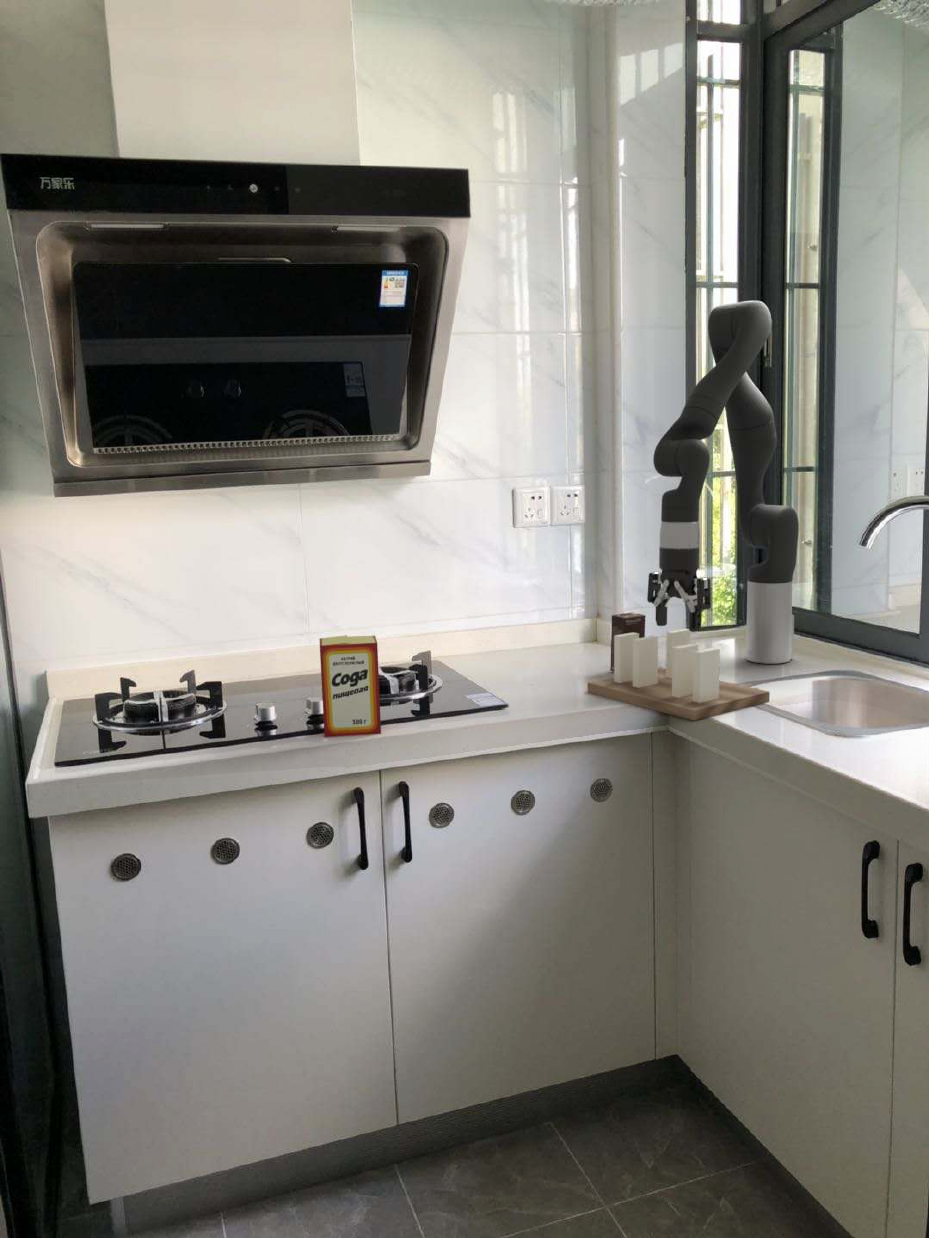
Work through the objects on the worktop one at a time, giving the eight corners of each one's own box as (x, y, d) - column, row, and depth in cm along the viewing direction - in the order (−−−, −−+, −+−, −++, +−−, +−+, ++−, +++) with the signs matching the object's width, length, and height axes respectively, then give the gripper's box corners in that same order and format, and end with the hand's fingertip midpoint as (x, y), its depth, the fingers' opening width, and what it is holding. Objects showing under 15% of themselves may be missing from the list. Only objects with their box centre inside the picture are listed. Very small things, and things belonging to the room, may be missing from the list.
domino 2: (632, 686, 192) (632, 639, 190) (651, 682, 195) (651, 635, 193) (638, 687, 190) (638, 640, 189) (657, 683, 193) (658, 637, 192)
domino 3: (666, 677, 198) (666, 631, 197) (683, 673, 201) (684, 628, 200) (672, 678, 197) (672, 632, 195) (690, 674, 200) (690, 629, 198)
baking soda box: (378, 723, 178) (374, 633, 175) (381, 733, 171) (377, 640, 169) (324, 726, 176) (319, 636, 174) (324, 737, 170) (319, 643, 167)
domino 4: (672, 696, 184) (672, 647, 182) (691, 691, 187) (691, 643, 185) (678, 697, 182) (679, 648, 181) (697, 693, 185) (698, 644, 184)
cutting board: (660, 676, 207) (660, 667, 207) (769, 701, 185) (769, 691, 185) (587, 691, 196) (587, 682, 195) (693, 720, 174) (693, 710, 174)
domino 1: (614, 681, 196) (614, 635, 194) (633, 677, 199) (633, 632, 197) (620, 682, 195) (620, 636, 193) (638, 678, 197) (639, 633, 196)
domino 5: (692, 701, 180) (693, 651, 178) (712, 696, 182) (712, 647, 181) (699, 703, 178) (700, 652, 177) (719, 698, 181) (719, 648, 180)
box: (624, 675, 209) (624, 617, 206) (609, 671, 212) (609, 614, 210) (646, 671, 212) (646, 614, 210) (631, 667, 215) (631, 611, 213)
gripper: (721, 546, 191) (719, 631, 194) (665, 541, 203) (664, 621, 205) (694, 548, 187) (692, 635, 189) (638, 543, 198) (637, 625, 201)
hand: (677, 628), depth 197 cm, fingers open, 8 cm apart
